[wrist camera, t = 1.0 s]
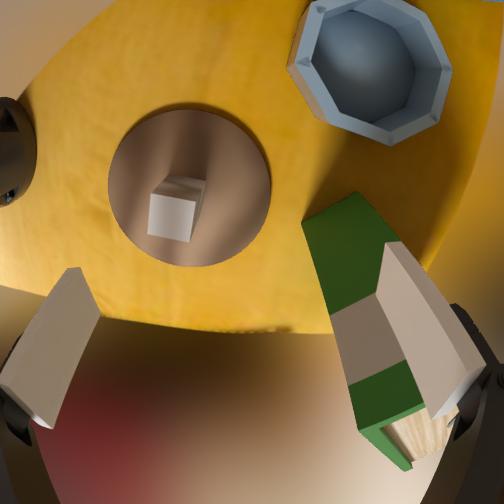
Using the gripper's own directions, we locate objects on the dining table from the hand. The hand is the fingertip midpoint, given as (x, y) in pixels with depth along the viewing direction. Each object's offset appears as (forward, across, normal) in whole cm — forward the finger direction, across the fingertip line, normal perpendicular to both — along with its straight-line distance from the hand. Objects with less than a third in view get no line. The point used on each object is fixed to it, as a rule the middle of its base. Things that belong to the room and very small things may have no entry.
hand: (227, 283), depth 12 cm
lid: (+21, -6, -3) cm, 22 cm away
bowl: (+20, +13, +10) cm, 26 cm away
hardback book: (+20, +14, -14) cm, 28 cm away
